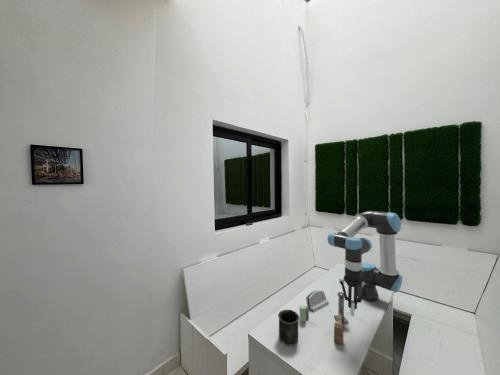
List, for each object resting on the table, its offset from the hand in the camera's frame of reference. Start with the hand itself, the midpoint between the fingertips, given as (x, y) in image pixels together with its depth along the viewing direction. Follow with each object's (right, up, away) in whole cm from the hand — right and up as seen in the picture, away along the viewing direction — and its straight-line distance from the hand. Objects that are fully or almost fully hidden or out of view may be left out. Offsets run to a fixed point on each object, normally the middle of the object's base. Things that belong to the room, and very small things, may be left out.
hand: (352, 314), depth 101 cm
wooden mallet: (-3, -15, +9) cm, 18 cm away
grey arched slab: (-7, -16, +33) cm, 38 cm away
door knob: (+3, -16, +19) cm, 24 cm away
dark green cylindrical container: (-31, -16, +6) cm, 35 cm away
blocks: (-19, -15, +20) cm, 31 cm away
